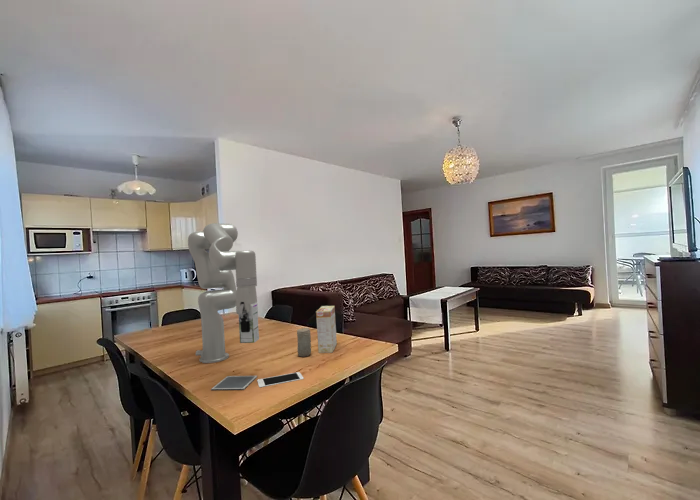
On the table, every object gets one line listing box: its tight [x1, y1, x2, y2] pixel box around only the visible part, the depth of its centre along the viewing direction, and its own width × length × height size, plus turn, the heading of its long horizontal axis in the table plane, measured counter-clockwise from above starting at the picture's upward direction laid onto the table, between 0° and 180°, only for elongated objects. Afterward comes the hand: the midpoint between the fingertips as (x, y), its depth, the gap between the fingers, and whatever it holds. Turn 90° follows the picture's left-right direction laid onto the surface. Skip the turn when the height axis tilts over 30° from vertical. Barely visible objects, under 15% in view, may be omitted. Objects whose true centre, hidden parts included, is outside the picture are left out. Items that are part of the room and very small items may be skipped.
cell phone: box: [256, 371, 305, 389], centre depth 121 cm, size 8×16×1 cm, turn 111°
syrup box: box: [238, 302, 260, 344], centre depth 125 cm, size 6×6×14 cm
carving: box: [296, 327, 312, 358], centre depth 150 cm, size 6×8×12 cm
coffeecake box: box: [315, 305, 338, 354], centre depth 159 cm, size 15×7×20 cm, turn 174°
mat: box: [210, 375, 258, 391], centre depth 120 cm, size 12×12×1 cm
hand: (248, 329), depth 125 cm, fingers closed on syrup box, 5 cm apart
